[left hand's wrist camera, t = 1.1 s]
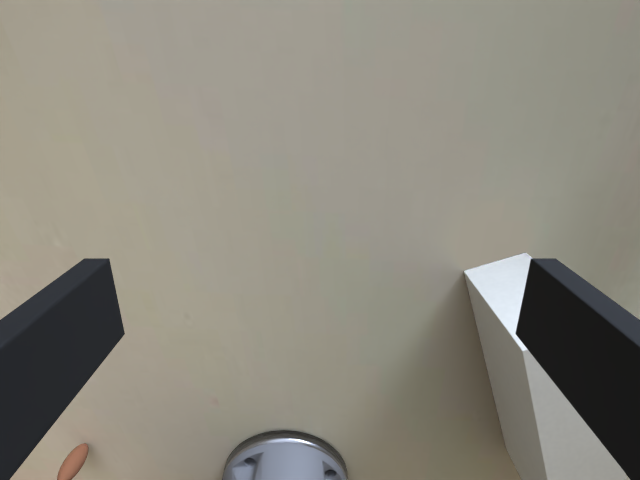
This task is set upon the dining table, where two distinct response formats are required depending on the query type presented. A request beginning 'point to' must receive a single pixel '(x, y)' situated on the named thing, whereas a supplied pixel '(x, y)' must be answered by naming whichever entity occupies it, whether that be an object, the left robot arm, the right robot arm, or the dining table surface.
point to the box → (530, 386)
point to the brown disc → (73, 462)
